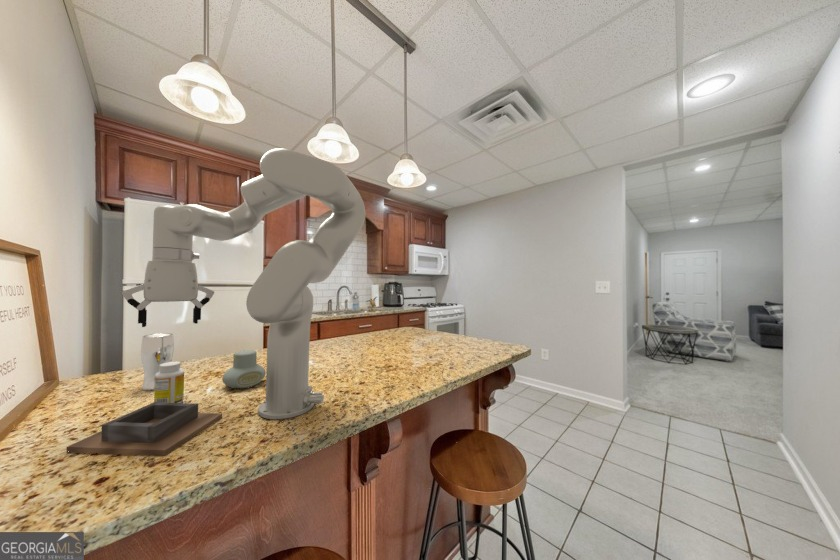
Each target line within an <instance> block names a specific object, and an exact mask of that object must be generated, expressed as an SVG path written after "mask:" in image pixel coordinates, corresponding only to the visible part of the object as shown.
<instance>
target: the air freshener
mask: <svg viewBox="0 0 840 560" xmlns="http://www.w3.org/2000/svg"><path fill="white" fill-rule="evenodd" d="M232 363H233V364H232V367H230V368H229V369H227V370H226V371H225V372H224V373H223V375H222V382H223V384H224V385H225V386H226V387H228V388H231V389H236V388H237V389H239V388H240V390H242V389H241V388H246V389H249V388H248V387H250V388H252V387H254V386H256V385H257V384H259V383H260V382H262V381H263V379H264V378H266V377H265V376H266V369H265V367H263V366H262V365H261V364H258V363H257V351H256V350H254V349H245V350H243V349H242V350H239V351H236V352H234V353H233V362H232ZM251 386H252V387H251Z"/></svg>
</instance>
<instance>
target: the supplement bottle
mask: <svg viewBox="0 0 840 560" xmlns="http://www.w3.org/2000/svg"><path fill="white" fill-rule="evenodd" d="M181 367H182V366H181V361H171V362H167V363H163V364H160V365H159V372H158V373H156V374H155V383H154V390H153V391H154V392H153V393H154V394H153V395H154V396H153V403H154V402H158V403H184V398H185V396H184V393H185V370H184V368H181Z"/></svg>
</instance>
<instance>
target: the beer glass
mask: <svg viewBox="0 0 840 560" xmlns="http://www.w3.org/2000/svg"><path fill="white" fill-rule="evenodd" d="M174 344H175V342H174V333H171V332H170V333H169V332H167V333H166V332H161V333H152V334H145V335H142V340H141V347H140V357H141V364H142V368H143V377H144V378H143V383H142V387H141V390H142V391H145V390H147V392H148V391H149V390H150V391H154V383H155V374H156V373H158V372H159V365H160V364H163V363H167V362H173V361H172V360H173V356H174V350H175V348H174V346H175V345H174Z"/></svg>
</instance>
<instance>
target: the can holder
mask: <svg viewBox="0 0 840 560" xmlns="http://www.w3.org/2000/svg"><path fill="white" fill-rule="evenodd" d="M222 419H223V413H212V412H210V413H209V412H199V403H192V402H191V403H190V402H189V403H187V402H186V403H185V402H182V403H158V402H154V401H153V402H152V403H150V404H147V405H145V406H142V407H141V408H138V409H135V410H134V411H131V412H129V413H127V414H124V415H122V416H120V417H117V418H115V419H113V420H111V421H108V422H106V423H104V424H101V430H100V431H99V432H96V433H95V434H93V435H89V436H88V437H85V438H83V439H81V440H79V441H76V442H75V443H72V444H70V445H68V446H66V453H67V452H68V451H69V452H78V453H77V454H96V453H98V455H99V454H101V455H103V454H104V455H124V456H125V455H127V456H128V455H132V456H153V457H154V456H158V457H159V456H161V457H163V456H164V457H165V456H166V455H168V454H169V453H171V452H173V451H174V450H176V449H177V448H179V447H180V446H182V445H183V444H185V443H186V442H188V441H190V440H191V439H193V438H194V437H195V436H198V435H199V434H201V433H202V432H204V431H205V430H207V429H208V428H209V427H211V426H212V425H214V424H216V423H217V422H219V421H220V420H222Z"/></svg>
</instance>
